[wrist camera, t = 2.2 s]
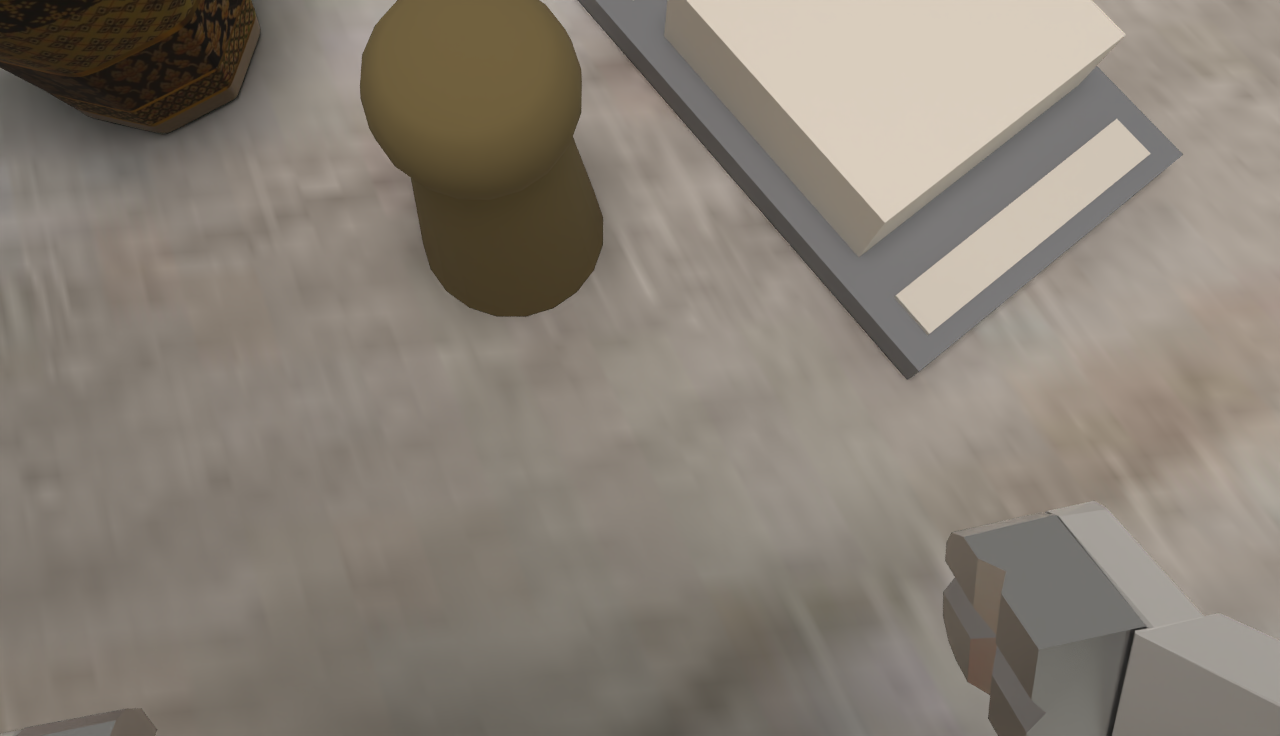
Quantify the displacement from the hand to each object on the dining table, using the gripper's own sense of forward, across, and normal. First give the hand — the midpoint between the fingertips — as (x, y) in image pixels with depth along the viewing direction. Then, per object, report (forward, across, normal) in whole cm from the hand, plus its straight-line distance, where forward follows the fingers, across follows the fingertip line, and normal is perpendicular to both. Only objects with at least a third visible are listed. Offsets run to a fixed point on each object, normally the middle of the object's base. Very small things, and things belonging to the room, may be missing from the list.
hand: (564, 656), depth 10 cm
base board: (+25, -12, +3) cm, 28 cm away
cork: (+23, +1, +5) cm, 24 cm away
